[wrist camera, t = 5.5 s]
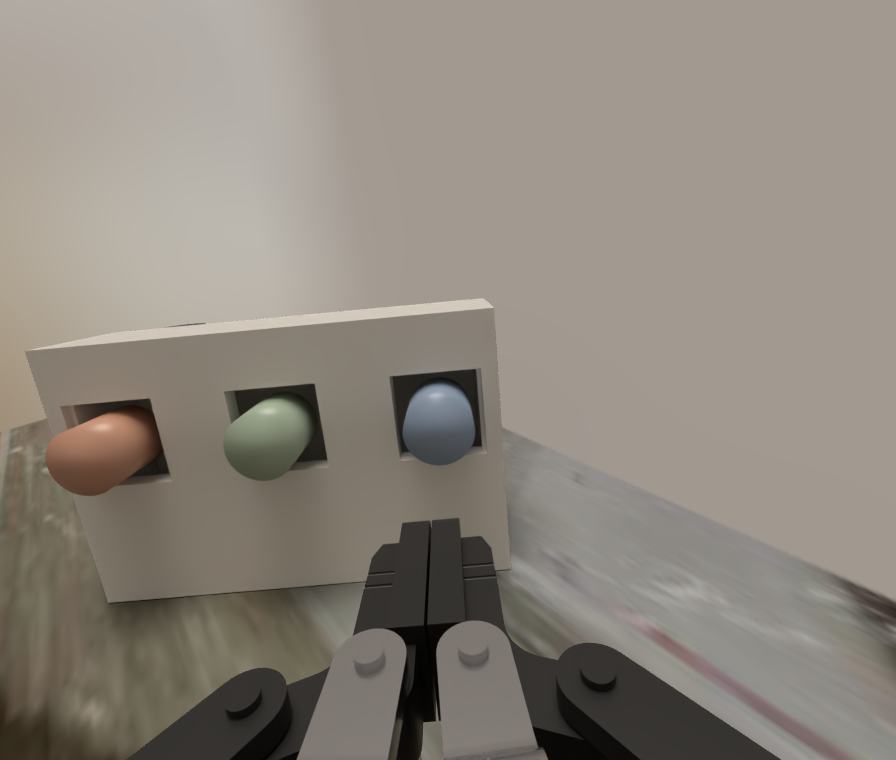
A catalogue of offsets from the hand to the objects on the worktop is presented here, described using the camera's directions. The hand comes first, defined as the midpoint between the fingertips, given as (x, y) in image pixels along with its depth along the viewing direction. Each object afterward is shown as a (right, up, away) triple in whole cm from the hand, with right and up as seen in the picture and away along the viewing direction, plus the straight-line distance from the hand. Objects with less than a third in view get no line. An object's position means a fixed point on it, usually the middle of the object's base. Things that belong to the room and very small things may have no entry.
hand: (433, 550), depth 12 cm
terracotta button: (-16, 0, +10) cm, 19 cm away
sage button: (-8, 0, +10) cm, 13 cm away
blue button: (0, +1, +10) cm, 10 cm away
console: (-7, -6, +15) cm, 18 cm away
